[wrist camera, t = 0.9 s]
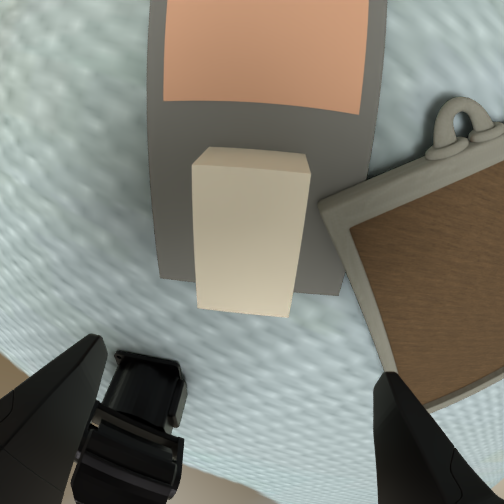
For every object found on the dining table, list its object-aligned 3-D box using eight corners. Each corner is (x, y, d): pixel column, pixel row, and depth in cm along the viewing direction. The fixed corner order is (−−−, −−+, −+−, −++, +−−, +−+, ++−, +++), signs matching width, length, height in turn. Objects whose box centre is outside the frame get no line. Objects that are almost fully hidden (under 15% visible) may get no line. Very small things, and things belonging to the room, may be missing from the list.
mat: (162, 273, 21) (159, 278, 21) (158, -35, 10) (153, -38, 10) (337, 290, 21) (338, 296, 20) (384, -24, 10) (388, -27, 9)
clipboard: (401, 424, 27) (296, 167, 14) (398, 413, 29) (294, 158, 16) (542, 354, 22) (559, 70, 8) (537, 345, 23) (544, 67, 10)
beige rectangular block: (209, 271, 20) (197, 308, 17) (209, 146, 16) (191, 164, 13) (288, 279, 20) (288, 317, 17) (305, 153, 15) (311, 173, 12)
